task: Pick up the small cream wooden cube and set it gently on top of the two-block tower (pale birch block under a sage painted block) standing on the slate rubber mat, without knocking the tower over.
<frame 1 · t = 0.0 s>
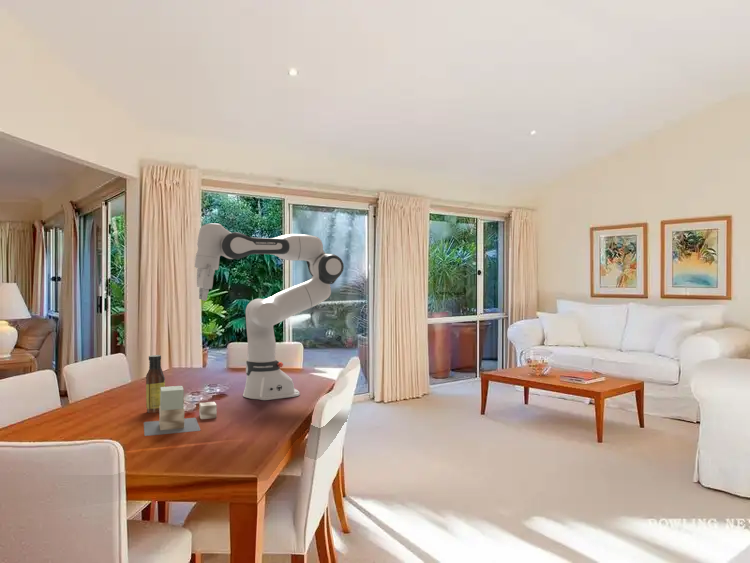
hand: (202, 299, 208), 39 cm above the table, tool pointing down, fingers open, 8 cm apart
sage block: (171, 407, 171), point 7 cm above the table, touching birch block
sauce bottle: (155, 412, 190), on the table
slate mat: (171, 428, 171), on the table
birch block: (171, 426, 171), point 1 cm above the table, touching sage block, slate mat
cream cube: (207, 418, 183), on the table
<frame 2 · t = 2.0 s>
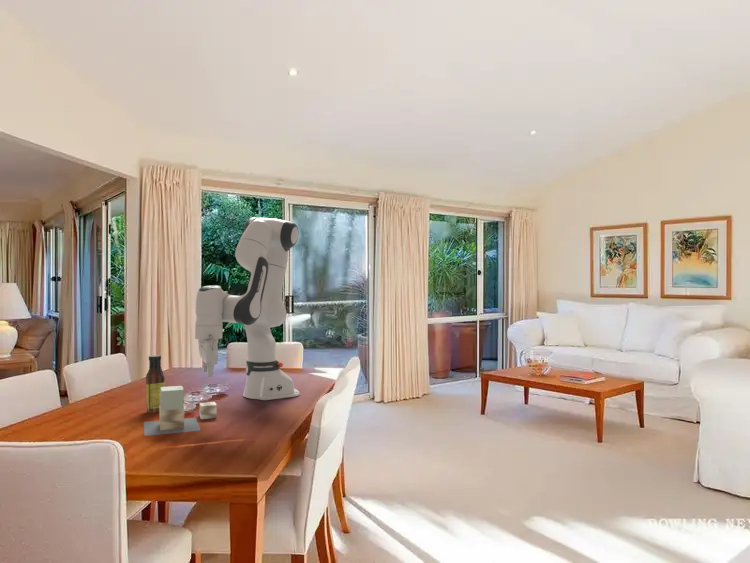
hand: (208, 374, 183), 15 cm above the table, tool pointing down, fingers open, 8 cm apart
nothing on the table moved.
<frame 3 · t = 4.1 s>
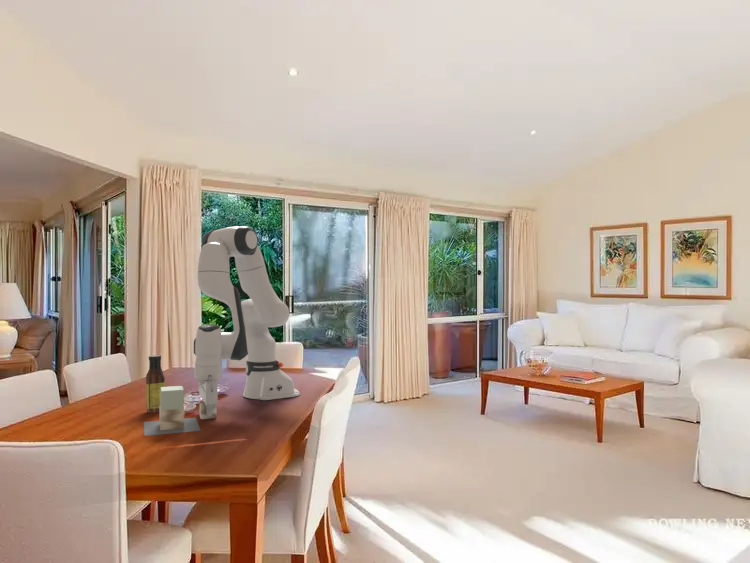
hand: (207, 413, 183), 2 cm above the table, tool pointing down, fingers closed on cream cube, 5 cm apart
cream cube: (207, 418, 183), on the table, touching gripper
everything else where it was.
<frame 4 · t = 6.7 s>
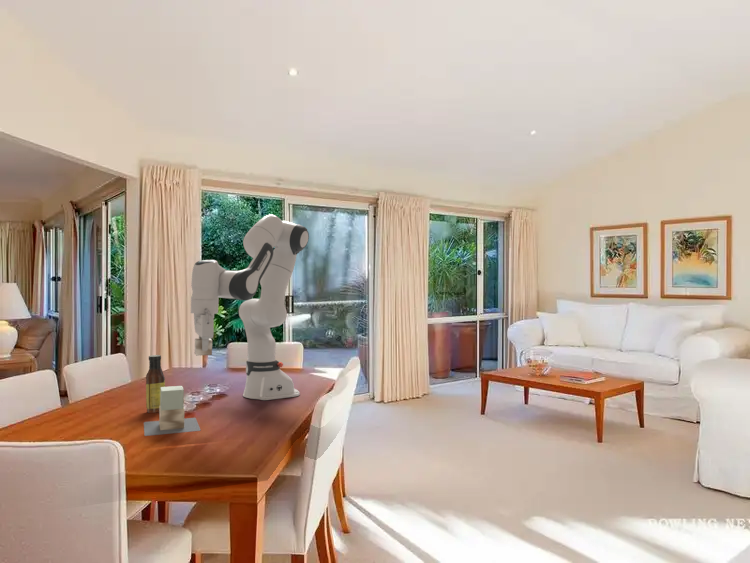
hand: (203, 349, 180), 24 cm above the table, tool pointing down, fingers closed on cream cube, 5 cm apart
cream cube: (203, 354, 180), point 22 cm above the table, touching gripper
everything else where it was.
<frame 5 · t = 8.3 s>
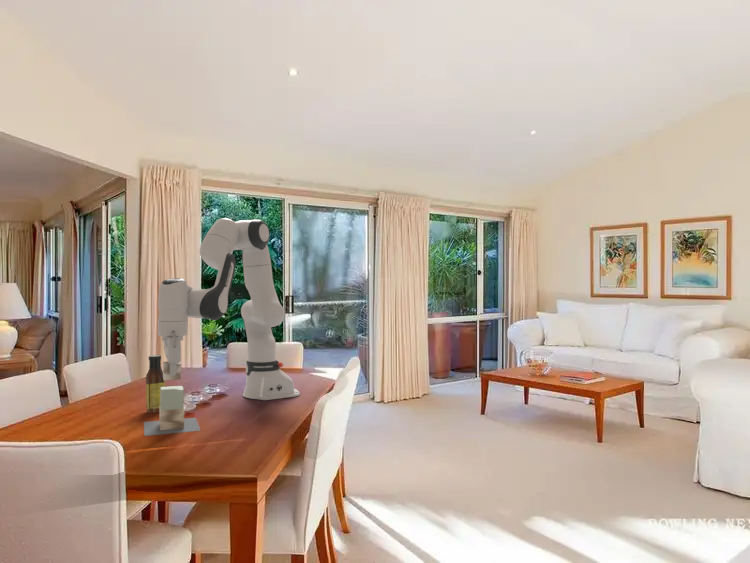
hand: (172, 373, 170), 17 cm above the table, tool pointing down, fingers closed on cream cube, 5 cm apart
cream cube: (171, 378, 170), point 16 cm above the table, touching gripper
everything else where it was.
when the fingers open (15 cm above the table, at t = 9.4 s): cream cube drops 1 cm, resting on sage block.
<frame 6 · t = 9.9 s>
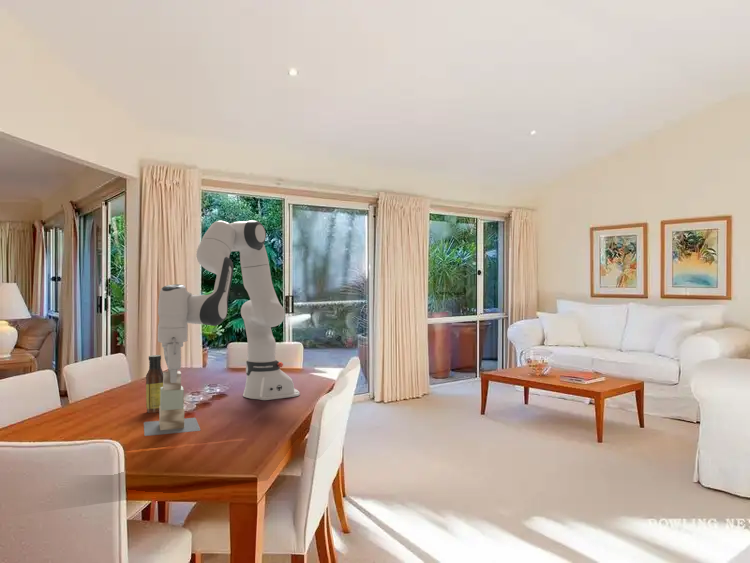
hand: (172, 379, 171), 15 cm above the table, tool pointing down, fingers open, 8 cm apart
sage block: (171, 407, 171), point 7 cm above the table, touching birch block, cream cube
cream cube: (171, 388, 171), point 13 cm above the table, touching sage block
everything else where it was.
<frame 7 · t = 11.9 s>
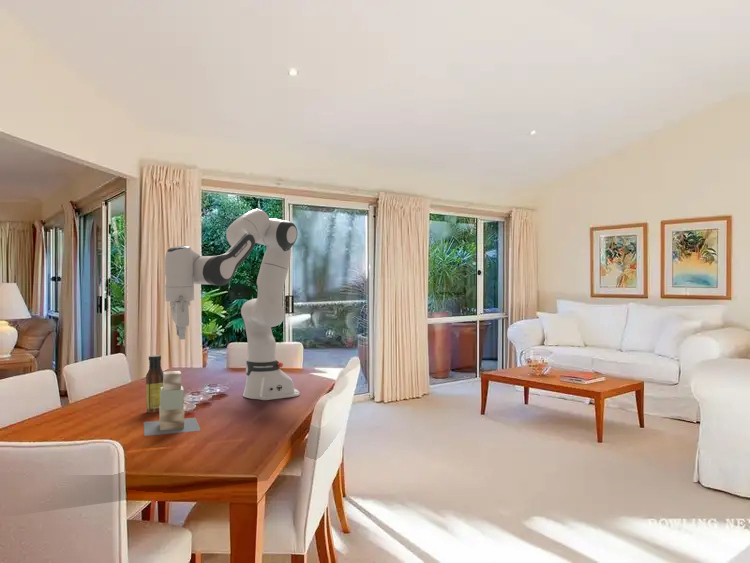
hand: (180, 337, 177), 28 cm above the table, tool pointing down, fingers open, 8 cm apart
nothing on the table moved.
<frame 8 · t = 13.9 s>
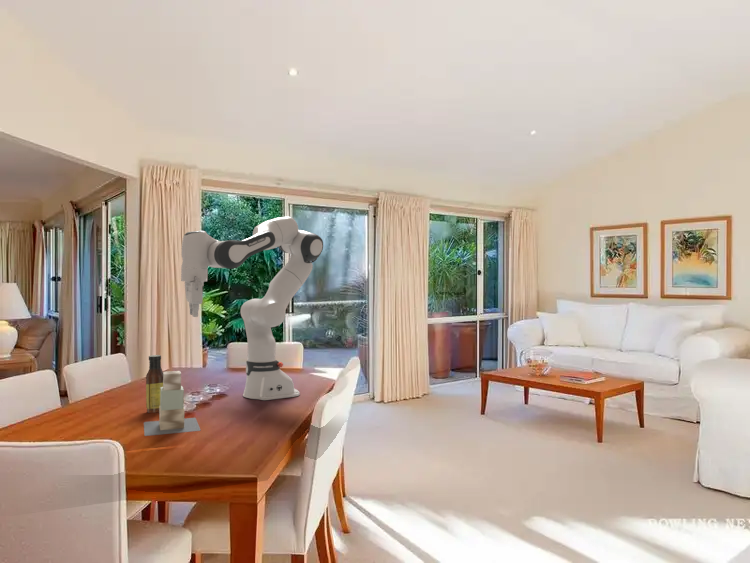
hand: (193, 315, 190), 34 cm above the table, tool pointing down, fingers open, 8 cm apart
nothing on the table moved.
at the end: cream cube 0.0 cm off-centre on the sage block, point 6.0 cm above the sage block's base; sage block 0.0 cm off-centre on the birch block, point 6.0 cm above the birch block's base; cream cube tilted 0° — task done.
